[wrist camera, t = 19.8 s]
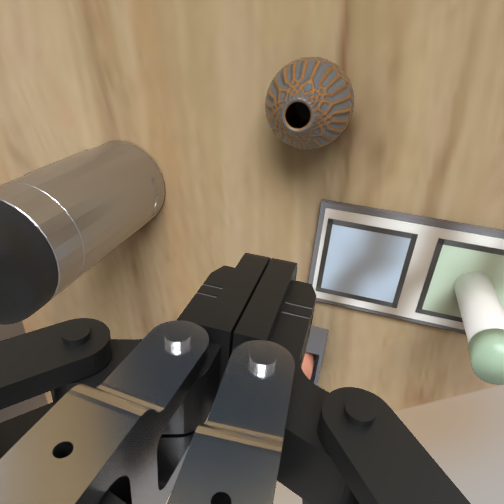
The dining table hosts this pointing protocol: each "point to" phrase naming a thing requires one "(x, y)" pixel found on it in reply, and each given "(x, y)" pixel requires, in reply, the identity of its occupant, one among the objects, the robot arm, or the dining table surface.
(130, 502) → the robot arm
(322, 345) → the button housing
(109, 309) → the dining table surface
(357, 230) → the picture board
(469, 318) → the marker
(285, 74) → the vase
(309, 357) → the button
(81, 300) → the dining table surface
